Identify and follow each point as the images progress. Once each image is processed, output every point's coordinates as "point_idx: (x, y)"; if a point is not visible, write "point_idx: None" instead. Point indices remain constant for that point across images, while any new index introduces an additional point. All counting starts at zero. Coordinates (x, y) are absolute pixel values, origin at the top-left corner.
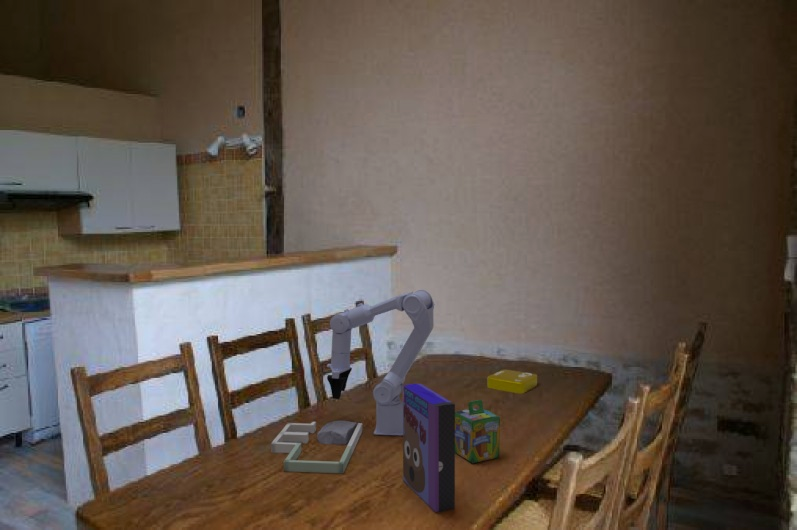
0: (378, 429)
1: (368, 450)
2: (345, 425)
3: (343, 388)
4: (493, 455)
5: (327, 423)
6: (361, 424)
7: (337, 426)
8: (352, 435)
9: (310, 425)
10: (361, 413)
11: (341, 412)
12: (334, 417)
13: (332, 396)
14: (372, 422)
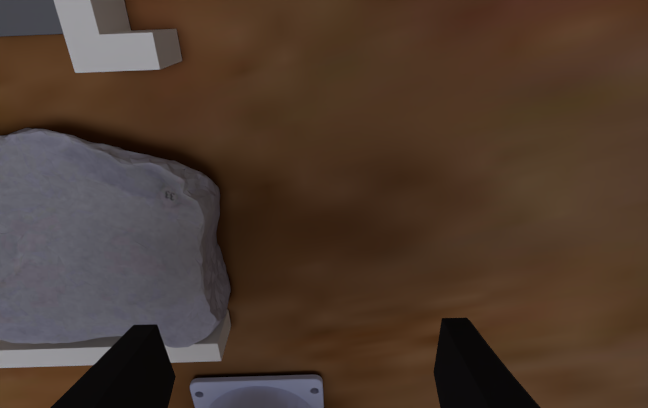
0: (216, 405)
1: (8, 382)
2: (110, 306)
3: (442, 397)
4: None
5: (152, 171)
6: (198, 361)
7: (79, 263)
8: (13, 351)
9: (67, 44)
10: (526, 273)
11: (564, 151)
12: (456, 127)
13: (116, 342)
14: (371, 345)
